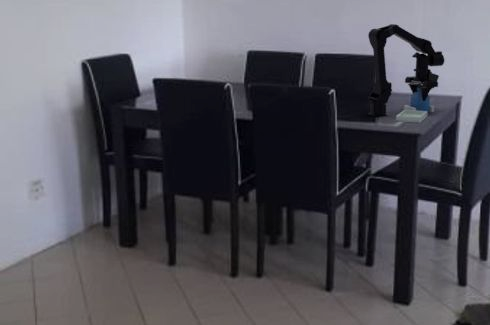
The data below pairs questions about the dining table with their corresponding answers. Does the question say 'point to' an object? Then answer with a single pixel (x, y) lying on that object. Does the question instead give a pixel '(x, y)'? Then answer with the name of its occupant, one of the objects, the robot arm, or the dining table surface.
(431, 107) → the bay
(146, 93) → the dining table surface
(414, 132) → the dining table surface
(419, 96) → the perfume bottle
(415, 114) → the tray
